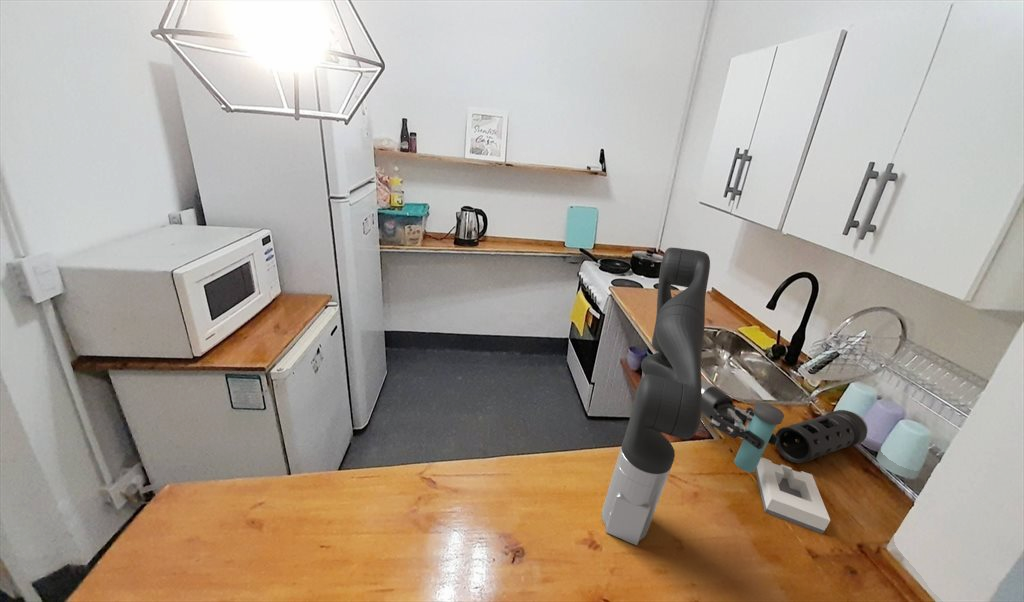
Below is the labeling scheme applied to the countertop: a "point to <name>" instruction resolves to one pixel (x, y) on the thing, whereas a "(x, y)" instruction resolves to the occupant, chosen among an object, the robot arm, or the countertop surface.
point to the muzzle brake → (821, 436)
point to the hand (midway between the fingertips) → (769, 443)
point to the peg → (761, 427)
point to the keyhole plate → (791, 495)
